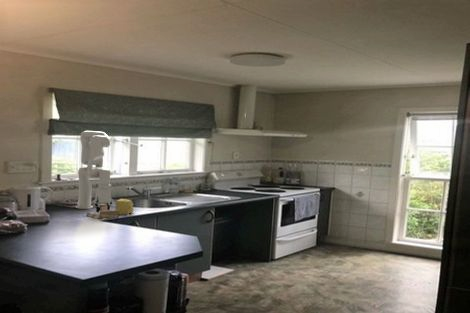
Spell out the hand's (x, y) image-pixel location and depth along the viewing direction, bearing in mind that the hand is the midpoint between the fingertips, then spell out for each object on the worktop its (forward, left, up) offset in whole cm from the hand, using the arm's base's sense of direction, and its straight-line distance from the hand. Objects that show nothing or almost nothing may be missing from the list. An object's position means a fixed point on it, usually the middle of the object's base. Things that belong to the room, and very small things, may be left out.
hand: (102, 211), depth 318 cm
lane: (+1, 0, -3) cm, 3 cm away
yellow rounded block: (-2, +20, -4) cm, 20 cm away
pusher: (+3, 0, -3) cm, 5 cm away
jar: (0, 0, -3) cm, 3 cm away
